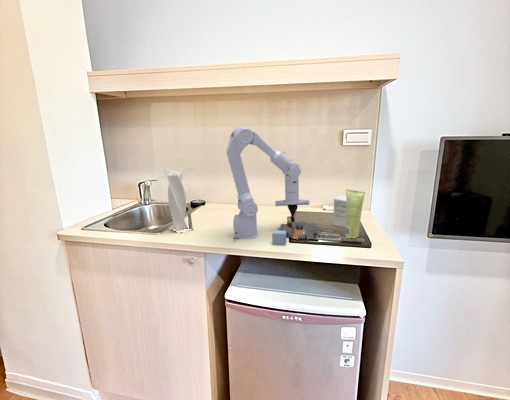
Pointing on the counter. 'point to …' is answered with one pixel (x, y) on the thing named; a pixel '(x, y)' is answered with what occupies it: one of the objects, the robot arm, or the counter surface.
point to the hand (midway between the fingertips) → (292, 221)
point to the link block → (278, 237)
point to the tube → (353, 212)
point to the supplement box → (339, 211)
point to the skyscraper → (177, 201)
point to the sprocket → (300, 229)
